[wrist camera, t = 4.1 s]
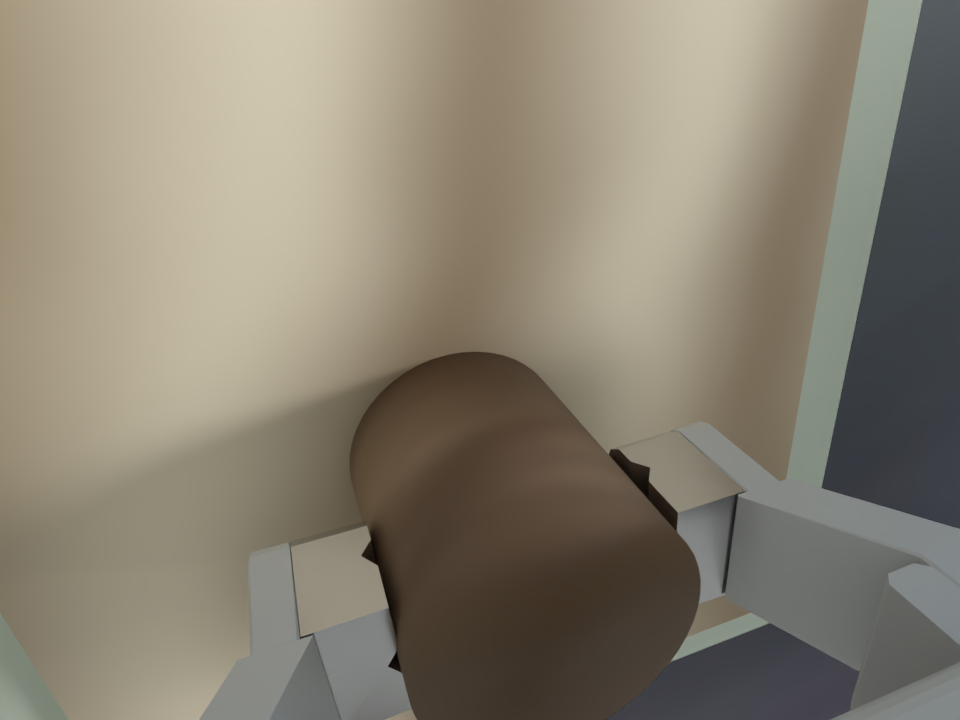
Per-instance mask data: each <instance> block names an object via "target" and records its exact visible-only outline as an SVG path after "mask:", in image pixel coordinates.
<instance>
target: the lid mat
mask: <svg viewBox="0 0 960 720" xmlns="http://www.w3.org/2000/svg"><path fill="white" fill-rule="evenodd" d="M922 1H923V0H869V1H868V7H867V13H866V19H865V24H864V30H863V36H862V42H861V48H860V53H859V59H858V65H857V71H856V77H855V82H854V88H853V94H852V100H851V106H850V111H849V117H848V123H847V129H846V135H845V140H844V146H843V152H842V158H841V164H840V169H839V175H838V181H837V187H836V192H835V198H834V204H833V210H832V216H831V221H830V227H829V233H828V239H827V245H826V250H825V256H824V262H823V268H822V274H821V279H820V285H819V291H818V297H817V303H816V308H815V314H814V320H813V326H812V332H811V337H810V343H809V349H808V355H807V361H806V366H805V372H804V378H803V384H802V390H801V395H800V401H799V407H798V413H797V418H796V424H795V430H794V436H793V442H792V447H791V453H790V459H789V465H788V471H787V476H786V479H788V478H789V479H792V480H796V481H799V482H802V483H806V484H809V485H812V486H816V487H819V488H822V483H823V478H824V473H825V469H826V464H827V459H828V454H829V449H830V445H831V440H832V435H833V430H834V425H835V420H836V416H837V411H838V406H839V401H840V396H841V391H842V387H843V382H844V377H845V372H846V367H847V363H848V358H849V353H850V348H851V343H852V338H853V334H854V329H855V324H856V319H857V314H858V309H859V305H860V300H861V295H862V290H863V285H864V281H865V276H866V271H867V266H868V261H869V256H870V252H871V247H872V242H873V237H874V232H875V227H876V223H877V218H878V213H879V208H880V203H881V199H882V194H883V189H884V184H885V179H886V174H887V170H888V165H889V160H890V155H891V150H892V145H893V141H894V136H895V131H896V126H897V121H898V117H899V112H900V107H901V102H902V97H903V92H904V88H905V83H906V78H907V73H908V68H909V63H910V59H911V54H912V49H913V44H914V39H915V35H916V30H917V25H918V20H919V15H920V10H921V6H922ZM766 624H769V622H767V621H765V620H764V619H762V618H760V617H758V616H756V615H754V614H753V613H749V614H746V615H744V616H741V617H738V618H736V619H733V620H730V621H728V622H725V623H723V624H720V625H717V626H715V627H712V628H710V629H707V630H704V631H702V632H699V633H697V634H694V635H691V636H689V637H686V639H685V640H684V642H683V644H682V645H681V647H680V649H679V650H678V652H677V653H676V655H675V656H674V657H673V659H672V660H671V662H672V661H674V660H677V659H679V658H682V657H684V656H687V655H689V654H692V653H695V652H697V651H700V650H702V649H705V648H707V647H710V646H712V645H715V644H718V643H720V642H723V641H725V640H728V639H730V638H733V637H735V636H738V635H741V634H743V633H746V632H748V631H751V630H753V629H756V628H758V627H761V626H764V625H766ZM0 720H69V719H68V718H67V716H66V715H65V713H64V711H63V710H62V708H61V707H60V705H59V704H58V702H57V701H56V699H55V698H54V696H53V694H52V693H51V691H50V690H49V688H48V687H47V685H46V684H45V682H44V680H43V679H42V677H41V676H40V674H39V673H38V671H37V670H36V668H35V666H34V665H33V663H32V662H31V660H30V659H29V657H28V656H27V654H26V652H25V651H24V649H23V648H22V646H21V645H20V643H19V642H18V640H17V638H16V637H15V635H14V634H13V632H12V631H11V629H10V628H9V626H8V624H7V623H6V621H5V620H4V618H3V617H2V615H1V614H0Z"/></svg>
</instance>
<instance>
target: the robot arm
mask: <svg viewBox="0 0 960 720" xmlns="http://www.w3.org/2000/svg"><path fill="white" fill-rule="evenodd" d="M609 456H610V457H611V458H612V459H613V460H614V461H615V462H616V464H617V465H618V466H619V467H620V468H621V469H622V470H623V472H624V473H625V474H626V475H627V476H628V477H629V478H630V479H631V481H632V482H633V483H634V484H635V485H636V486H637V487H638V489H639V490H640V491H641V492H642V493H643V494H644V495H645V496H646V498H647V499H648V500H649V501H650V502H651V503H652V504H653V506H654V507H655V508H656V509H657V510H658V511H659V512H660V513H661V515H662V516H663V517H664V518H665V519H666V520H667V521H668V522H669V524H670V525H671V526H672V527H673V528H674V529H675V530H676V532H677V533H678V534H679V535H680V536H681V537H682V538H683V539H684V541H685V542H686V543H687V544H688V545H689V547H690V549H691V550H692V552H693V554H694V555H695V558H696V561H697V564H698V566H699V572H700V578H701V591H700V599H699V604H700V603H703V602H706V601H709V600H712V599H715V598H718V597H720V596H723V595H725V599H727V600H729V601H731V602H732V603H734V604H736V605H738V606H740V607H742V608H743V609H745V610H747V611H749V612H751V613H753V614H754V615H756V616H758V617H760V618H762V619H764V620H765V621H767V622H769V623H771V624H773V625H775V626H776V627H778V628H780V629H782V630H784V631H786V632H787V633H789V634H791V635H793V636H795V637H797V638H798V639H800V640H802V641H804V642H806V643H808V644H809V645H811V646H813V647H815V648H817V649H819V650H820V651H822V652H824V653H826V654H828V655H830V656H831V657H833V658H835V659H837V660H839V661H841V662H842V663H844V664H846V665H848V666H850V667H852V668H853V669H855V670H857V671H859V675H858V679H857V682H856V686H855V689H854V693H853V696H852V700H851V709H850V711H848V712H846V713H844V714H841V715H839V716H837V717H835V718H832V719H830V720H960V529H958V528H955V527H951V526H948V525H945V524H941V523H938V522H934V521H931V520H928V519H924V518H921V517H918V516H914V515H911V514H907V513H904V512H901V511H897V510H894V509H890V508H887V507H884V506H880V505H877V504H873V503H870V502H867V501H863V500H860V499H857V498H853V497H850V496H846V495H843V494H840V493H836V492H833V491H829V490H826V489H823V488H819V487H816V486H812V485H809V484H806V483H802V482H799V481H796V480H792V479H789V478H788V479H785V480H782V481H779V480H777V479H776V478H775V477H774V476H772V475H771V474H770V473H769V472H768V471H766V470H765V469H764V468H763V467H761V466H760V465H759V464H758V463H757V462H755V461H754V460H753V459H752V458H750V457H749V456H748V455H747V454H746V453H744V452H743V451H742V450H741V449H739V448H738V447H737V446H736V445H735V444H733V443H732V442H731V441H730V440H728V439H727V438H726V437H725V436H724V435H722V434H721V433H720V432H719V431H717V430H716V429H715V428H714V427H713V426H711V425H710V424H708V423H705V422H702V421H699V422H696V423H693V424H689V425H686V426H683V427H680V428H677V429H674V430H671V431H670V432H666V433H663V434H660V435H656V436H653V437H650V438H646V439H643V440H640V441H636V442H633V443H630V444H626V445H623V446H620V447H616V448H613V449H610V452H609ZM248 584H249V624H250V656H248V657H245V658H242V659H239V660H237V662H236V663H235V665H234V666H233V668H232V669H231V671H230V672H229V674H228V676H227V677H226V679H225V680H224V682H223V683H222V685H221V686H220V688H219V690H218V691H217V693H216V694H215V696H214V697H213V699H212V700H211V702H210V704H209V705H208V707H207V708H206V710H205V711H204V713H203V715H202V716H201V718H200V719H199V720H386V719H388V718H391V717H393V716H396V715H398V714H401V713H403V712H406V711H408V710H411V709H412V708H411V705H410V702H409V698H408V694H407V691H406V687H405V683H404V679H403V675H402V672H401V668H400V664H399V660H398V656H397V653H396V651H397V640H396V636H395V632H394V628H393V624H392V619H391V615H390V611H389V607H388V603H387V599H386V595H385V591H384V588H383V584H382V580H381V576H380V572H379V568H378V565H377V563H376V559H375V555H374V550H373V546H372V542H371V538H370V535H369V531H368V528H367V524H366V521H363V522H360V523H356V524H352V525H348V526H345V527H341V528H337V529H333V530H330V531H326V532H322V533H319V534H315V535H311V536H307V537H304V538H300V539H296V540H293V541H291V543H284V544H280V545H277V546H273V547H269V548H265V549H262V550H258V551H254V552H251V554H250V557H249V560H248Z"/></svg>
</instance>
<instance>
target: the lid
mask: <svg viewBox="0 0 960 720" xmlns="http://www.w3.org/2000/svg"><path fill="white" fill-rule="evenodd" d="M868 1H869V0H0V614H1V615H2V617H3V618H4V620H5V621H6V623H7V624H8V626H9V628H10V629H11V631H12V632H13V634H14V635H15V637H16V638H17V640H18V642H19V643H20V645H21V646H22V648H23V649H24V651H25V652H26V654H27V656H28V657H29V659H30V660H31V662H32V663H33V665H34V666H35V668H36V670H37V671H38V673H39V674H40V676H41V677H42V679H43V680H44V682H45V684H46V685H47V687H48V688H49V690H50V691H51V693H52V694H53V696H54V698H55V699H56V701H57V702H58V704H59V705H60V707H61V708H62V710H63V711H64V713H65V715H66V716H67V718H68V719H69V720H199V719H200V718H201V716H202V715H203V713H204V711H205V710H206V708H207V707H208V705H209V704H210V702H211V700H212V699H213V697H214V696H215V694H216V693H217V691H218V690H219V688H220V686H221V685H222V683H223V682H224V680H225V679H226V677H227V676H228V674H229V672H230V671H231V669H232V668H233V666H234V665H235V663H236V662H237V660H239V659H242V658H245V657H248V656H250V624H249V584H248V560H249V557H250V554H251V552H254V551H258V550H262V549H265V548H269V547H273V546H277V545H280V544H284V543H291V541H293V540H296V539H300V538H304V537H307V536H311V535H315V534H319V533H322V532H326V531H330V530H333V529H337V528H341V527H345V526H348V525H352V524H356V523H360V522H363V521H366V524H367V528H368V531H369V535H370V538H371V542H372V546H373V550H374V555H375V559H376V563H377V565H378V568H379V572H380V576H381V580H382V584H383V588H384V591H385V595H386V599H387V603H388V607H389V611H390V615H391V619H392V624H393V628H394V632H395V636H396V640H397V651H396V653H397V656H398V660H399V664H400V668H401V672H402V675H403V679H404V683H405V687H406V691H407V694H408V698H409V702H410V705H411V708H412V709H411V710H408V711H406V712H403V713H401V714H398V715H396V716H393V717H391V718H388V719H386V720H605V719H607V718H608V717H610V716H611V715H613V714H615V713H616V712H617V711H619V710H620V709H622V708H623V707H624V706H626V705H627V704H628V703H630V702H631V701H632V700H633V699H635V698H636V697H637V696H638V695H639V694H640V693H642V692H643V691H644V690H645V689H646V688H647V687H648V686H649V685H650V684H651V683H652V682H653V681H654V680H655V679H656V678H657V677H658V676H659V675H660V674H661V672H662V671H663V670H664V669H665V668H666V667H667V665H668V664H669V663H670V662H671V660H672V659H673V657H674V656H675V655H676V653H677V652H678V650H679V649H680V647H681V645H682V644H683V642H684V640H685V639H686V637H689V636H691V635H694V634H697V633H699V632H702V631H704V630H707V629H710V628H712V627H715V626H717V625H720V624H723V623H725V622H728V621H730V620H733V619H736V618H738V617H741V616H744V615H746V614H749V613H751V612H749V611H747V610H745V609H743V608H742V607H740V606H738V605H736V604H734V603H732V602H731V601H729V600H727V599H725V595H723V596H720V597H718V598H715V599H712V600H709V601H706V602H703V603H700V604H699V599H700V591H701V578H700V572H699V566H698V564H697V561H696V558H695V555H694V554H693V552H692V550H691V549H690V547H689V545H688V544H687V543H686V542H685V541H684V539H683V538H682V537H681V536H680V535H679V534H678V533H677V532H676V530H675V529H674V528H673V527H672V526H671V525H670V524H669V522H668V521H667V520H666V519H665V518H664V517H663V516H662V515H661V513H660V512H659V511H658V510H657V509H656V508H655V507H654V506H653V504H652V503H651V502H650V501H649V500H648V499H647V498H646V496H645V495H644V494H643V493H642V492H641V491H640V490H639V489H638V487H637V486H636V485H635V484H634V483H633V482H632V481H631V479H630V478H629V477H628V476H627V475H626V474H625V473H624V472H623V470H622V469H621V468H620V467H619V466H618V465H617V464H616V462H615V461H614V460H613V459H612V458H611V457H610V456H609V452H610V449H613V448H616V447H620V446H623V445H626V444H630V443H633V442H636V441H640V440H643V439H646V438H650V437H653V436H656V435H660V434H663V433H666V432H670V431H671V430H674V429H677V428H680V427H683V426H686V425H689V424H693V423H696V422H699V421H702V422H705V423H708V424H710V425H711V426H713V427H714V428H715V429H716V430H717V431H719V432H720V433H721V434H722V435H724V436H725V437H726V438H727V439H728V440H730V441H731V442H732V443H733V444H735V445H736V446H737V447H738V448H739V449H741V450H742V451H743V452H744V453H746V454H747V455H748V456H749V457H750V458H752V459H753V460H754V461H755V462H757V463H758V464H759V465H760V466H761V467H763V468H764V469H765V470H766V471H768V472H769V473H770V474H771V475H772V476H774V477H775V478H776V479H777V480H779V481H782V480H785V479H786V476H787V471H788V465H789V459H790V453H791V447H792V442H793V436H794V430H795V424H796V418H797V413H798V407H799V401H800V395H801V390H802V384H803V378H804V372H805V366H806V361H807V355H808V349H809V343H810V337H811V332H812V326H813V320H814V314H815V308H816V303H817V297H818V291H819V285H820V279H821V274H822V268H823V262H824V256H825V250H826V245H827V239H828V233H829V227H830V221H831V216H832V210H833V204H834V198H835V192H836V187H837V181H838V175H839V169H840V164H841V158H842V152H843V146H844V140H845V135H846V129H847V123H848V117H849V111H850V106H851V100H852V94H853V88H854V82H855V77H856V71H857V65H858V59H859V53H860V48H861V42H862V36H863V30H864V24H865V19H866V13H867V7H868Z"/></svg>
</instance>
